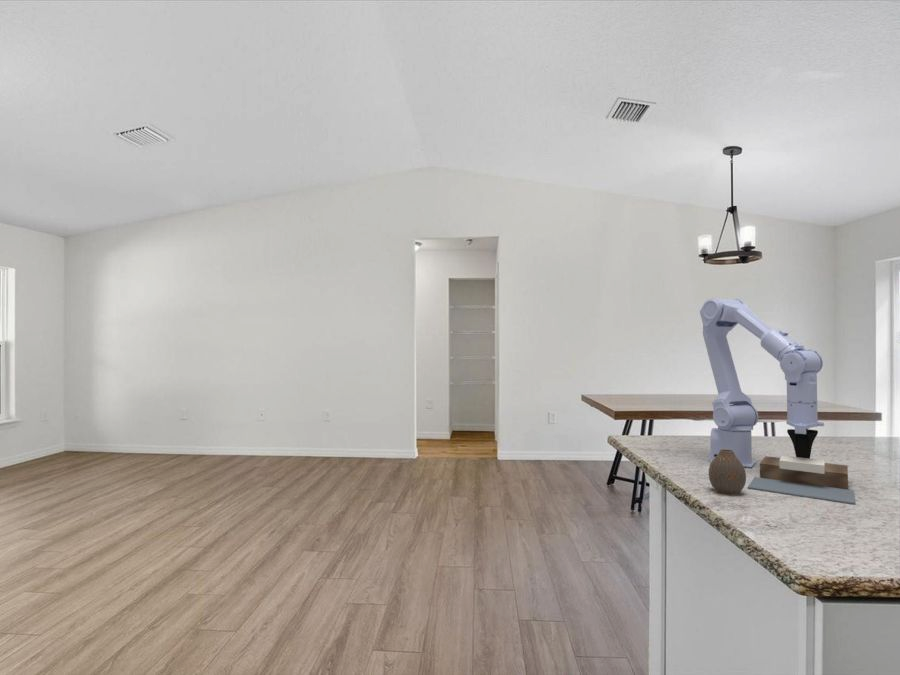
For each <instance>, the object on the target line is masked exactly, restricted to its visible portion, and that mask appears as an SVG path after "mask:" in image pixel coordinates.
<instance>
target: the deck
mask: <svg viewBox="0 0 900 675" xmlns="http://www.w3.org/2000/svg"><path fill="white" fill-rule="evenodd" d="M780 458H781V457H778V456H777V457H775V456H767V455H766V456H764V457H763V458H762V459H761V461H760V463H759V478H766V479H774V480H781V481H788V482H796V483H803V484H810V485H817V486H825V487H832V488H839V489H847V490H849V469H848V468H849V466H848V465H845V464H835V463H827V462H825V473H824V474H821V473H813V472H805V471H797V470H789V469H780V464H779V460H780Z"/></svg>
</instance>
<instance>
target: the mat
mask: <svg viewBox="0 0 900 675" xmlns="http://www.w3.org/2000/svg"><path fill="white" fill-rule="evenodd" d="M747 489H749V490H755V491H762V492H771V493H774V494H780V495H781V494H783V495H788V496H795V497H802V498H807V499H813V500H815V499H816V500H822V501H827V502H828V501H829V502H833V503H834V502H835V503H840V504H841V503H842V504H847V505H853V506H854V505H855V506H856V497H855V494H856V493H855V490H853V489H848V490H847V489H839V488H832V487H825V486H817V485H810V484H803V483H796V482H788V481H781V480H774V479H766V478H760V476H759V477H757V476H754V477H753V479H752V480H751V482H750V483H749V484H748V486H747Z"/></svg>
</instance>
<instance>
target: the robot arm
mask: <svg viewBox="0 0 900 675" xmlns="http://www.w3.org/2000/svg"><path fill="white" fill-rule="evenodd" d="M699 313H700V318H701V322H702V336H703V337H702V338H703V340H704V343H705V344H704V345H705V348H706V352H707V356H708V360H709V363H710V367H711V370H712V374H713V378H714V383H715V386H716V390H717V394H718V395H717V397H715V399H713V401H712V402H711V403H712V408H713V409H712V410H713V411H712V418H713V419H712V420H713V422H714V423H715V425H716V426H717V428H716V427H713V428H711V431H710V437H709V440H710V441H709V442H710V443H709V445H710V449H709V450H710V461H709V463H711V462H712V460H713V459H714V458H715V457H716V456H717V455H718V453H719V452H720V450H721V449H728V450H732V451H733V452H734V454H735V456H736V457H737V458H738V459H739V461H740V462H741V463H742V465H743V467H744V468H752V467H753V466H754V465H755V464H756V460H755V459H754V460H753V454H752V453H753V450H752V449H753V446H752V441H753V440H752V438H753V437H752V431H753V430H754V426H756V425H757V423H758V422H759V412H758V410H757V409H756V407H755V405H753V402H752V400H751V398H750V396H748V395H747V394H746V393H744V391H742V389H741V384H740V381H739V378H738V377H739V376H738V374H737V370H736V367H735V362H734V359H733V355H732V352H731V349H730V344H729V342H728V338H727V336H728V334H729V332H730V331H732V330H733V329H734V328H735V327H736V326H737V325H738V324H739V325H740V326H741V327H743V328H744V329H746V330H747V331H748V332H750V333H751V334H752V335H754V336H755V337H756V338H758V339H759V340H760V346H761V348H763V349H764V350H765V351H766V352H767V353H768V354H769V355H770V356H772V357H773V359H774V358H775V360H777V361H778V362H779V367H780V370H781V371H782V372H783V374H784V380H785V381H786V414H787V416H786V417H787V419H786V420H785V423H786V425H789V426H790V427H793V428H794V429H792V428H789V429H787V430H786V433H787V435H788V436H789V438H790V440H791V441H792V442H791V443H792V445H793V450H794V454H795V457H801V458H810V459H811V454H812V447H813V444H814V442H815V439H816V437H818V433H819V431H818V430H817V429H812V428H817V427H825V422H821V421H818V418H819V416H818V415H819V414H818V376H817V375H818V373H819V372H820V371H821V370H822V368H823V364H824V361H823V357H822V356H821V355H820V354H819V352H818V351H817V350H813V349H806V348H804V347H805V346H804V345H803V344H802V343H798V342H797V341H795V339H793V338H792V337H791V336H789V332H788V331H787V330H784V329H783V330H782V329H776V328H775V329H772V327H770V326H769V325H767V324H766V322H764V321H763V320H762V319H761V318H760V317H759V316H757V314H756V313H754V312H753V311H752V310H751V309H750V306H749V305H748V304H747V303H744V301H743V300H741V299H738V298H736V299H735V298H734V299H728V298H725V299H724V298H723V299H722V298H716V297H715V298H714V297H713V298H712V297H711V298H709V299H707V300H705V301H704V303H703V305H702V307H701V309H700V310H699Z"/></svg>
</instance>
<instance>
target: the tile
mask: <svg viewBox="0 0 900 675" xmlns="http://www.w3.org/2000/svg"><path fill="white" fill-rule="evenodd" d="M779 458H780V460H779V464H780V469H789V470H797V471H805V472H813V473H821V474H824V473H825V463H826V461H825V460H824V459H818V458H817V459H816V458H811V457H810V458H801V457H796V456H792V455H791V456H790V455H781V456H780V457H779Z"/></svg>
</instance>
